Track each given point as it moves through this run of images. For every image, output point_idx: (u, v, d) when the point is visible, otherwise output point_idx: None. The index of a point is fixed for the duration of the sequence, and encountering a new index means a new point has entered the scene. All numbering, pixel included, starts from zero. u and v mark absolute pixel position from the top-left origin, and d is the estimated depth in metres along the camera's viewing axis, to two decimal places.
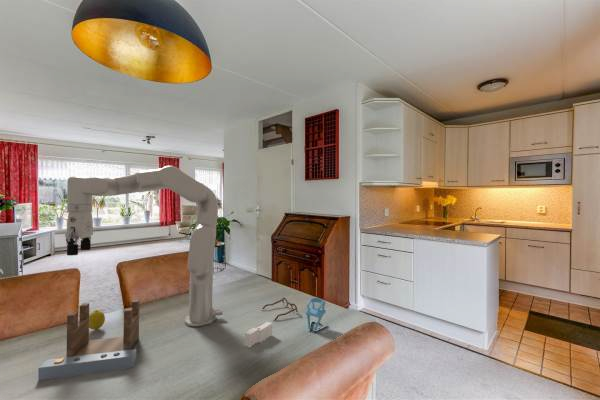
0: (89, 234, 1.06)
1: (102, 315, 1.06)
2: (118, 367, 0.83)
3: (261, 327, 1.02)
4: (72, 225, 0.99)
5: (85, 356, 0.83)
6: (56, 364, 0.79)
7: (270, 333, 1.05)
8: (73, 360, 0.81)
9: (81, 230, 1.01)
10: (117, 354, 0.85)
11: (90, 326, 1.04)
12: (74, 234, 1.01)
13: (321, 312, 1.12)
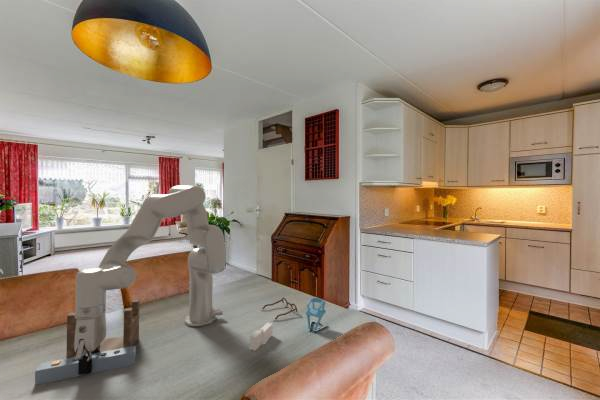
0: (102, 339, 0.84)
1: None
2: (119, 364, 0.84)
3: (264, 328, 1.01)
4: (81, 336, 0.78)
5: None
6: (54, 366, 0.78)
7: (271, 334, 1.05)
8: (71, 361, 0.81)
9: (93, 341, 0.79)
10: (117, 351, 0.86)
11: None
12: None
13: (321, 312, 1.12)
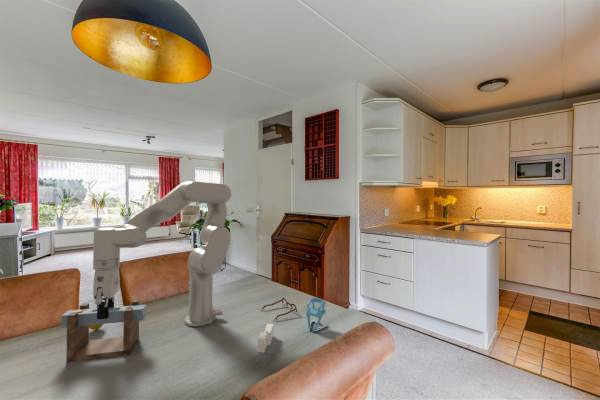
0: (116, 291, 0.95)
1: None
2: None
3: (268, 330, 1.00)
4: (99, 285, 0.88)
5: None
6: None
7: (272, 334, 1.04)
8: (91, 311, 0.92)
9: (109, 290, 0.90)
10: (129, 307, 0.95)
11: (90, 326, 1.04)
12: (102, 294, 0.91)
13: (321, 312, 1.12)
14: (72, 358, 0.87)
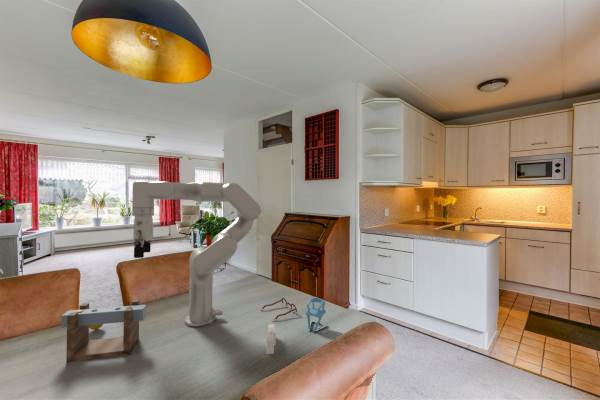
0: (151, 237, 1.09)
1: None
2: None
3: (272, 330, 1.00)
4: (139, 228, 1.02)
5: (101, 308, 0.94)
6: None
7: None
8: (91, 311, 0.92)
9: (147, 233, 1.03)
10: (129, 307, 0.95)
11: (90, 326, 1.04)
12: (139, 237, 1.04)
13: (321, 312, 1.12)
14: (72, 358, 0.87)
